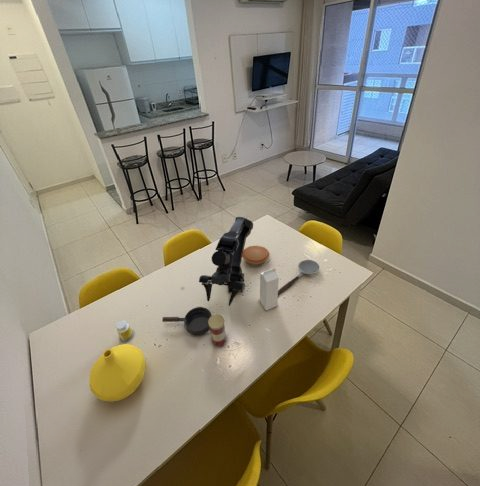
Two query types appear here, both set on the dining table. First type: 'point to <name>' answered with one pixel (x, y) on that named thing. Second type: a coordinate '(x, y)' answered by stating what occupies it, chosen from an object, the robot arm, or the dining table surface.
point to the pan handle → (172, 319)
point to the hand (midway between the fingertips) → (218, 303)
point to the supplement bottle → (124, 330)
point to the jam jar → (217, 329)
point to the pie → (255, 255)
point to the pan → (197, 321)
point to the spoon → (302, 272)
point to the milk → (269, 288)
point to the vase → (117, 373)
